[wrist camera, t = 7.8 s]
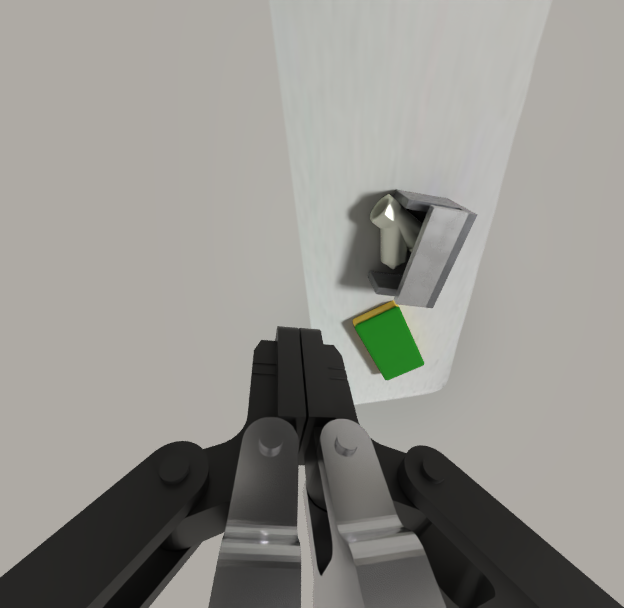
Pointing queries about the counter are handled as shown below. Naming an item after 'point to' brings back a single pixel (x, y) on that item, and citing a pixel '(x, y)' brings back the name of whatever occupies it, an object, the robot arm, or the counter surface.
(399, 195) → the bracket
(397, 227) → the pipe fitting
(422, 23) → the counter surface
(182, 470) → the robot arm
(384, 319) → the dish sponge
